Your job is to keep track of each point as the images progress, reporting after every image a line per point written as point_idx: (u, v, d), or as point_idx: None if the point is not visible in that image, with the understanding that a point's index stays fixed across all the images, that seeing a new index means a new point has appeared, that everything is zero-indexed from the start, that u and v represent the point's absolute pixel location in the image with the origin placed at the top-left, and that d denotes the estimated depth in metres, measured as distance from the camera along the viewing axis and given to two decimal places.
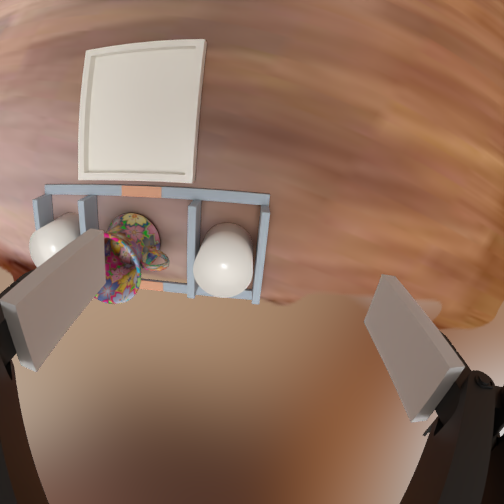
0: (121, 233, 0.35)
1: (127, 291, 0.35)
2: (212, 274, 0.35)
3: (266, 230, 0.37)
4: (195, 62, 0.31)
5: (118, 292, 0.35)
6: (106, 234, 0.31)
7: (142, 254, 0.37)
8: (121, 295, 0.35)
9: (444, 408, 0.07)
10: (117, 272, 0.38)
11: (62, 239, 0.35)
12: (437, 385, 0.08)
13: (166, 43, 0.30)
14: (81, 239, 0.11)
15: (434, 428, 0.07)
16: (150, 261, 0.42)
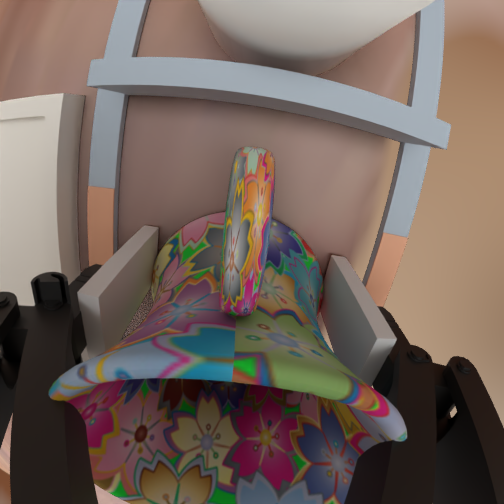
0: None
1: (362, 416, 0.06)
2: None
3: None
4: None
5: (358, 437, 0.07)
6: None
7: None
8: (371, 440, 0.06)
9: (379, 386, 0.09)
10: None
11: None
12: (367, 357, 0.09)
13: None
14: (140, 235, 0.13)
15: None
16: (303, 256, 0.13)
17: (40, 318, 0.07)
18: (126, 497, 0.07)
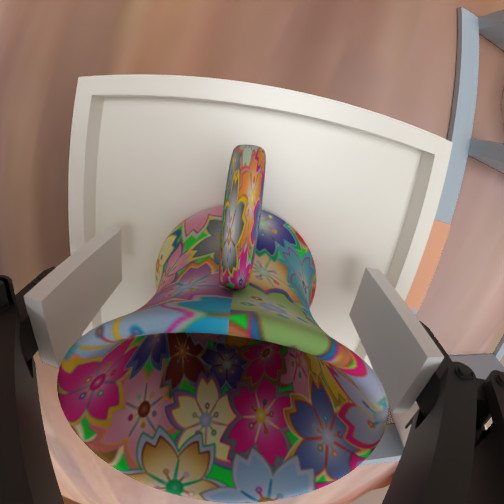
0: None
1: (347, 384, 0.07)
2: None
3: None
4: (134, 90, 0.11)
5: (345, 409, 0.08)
6: (60, 397, 0.06)
7: None
8: (356, 409, 0.07)
9: (424, 400, 0.08)
10: (292, 365, 0.12)
11: None
12: (416, 375, 0.08)
13: (75, 171, 0.13)
14: (100, 237, 0.12)
15: (415, 421, 0.08)
16: (296, 246, 0.14)
17: None
18: (128, 471, 0.08)
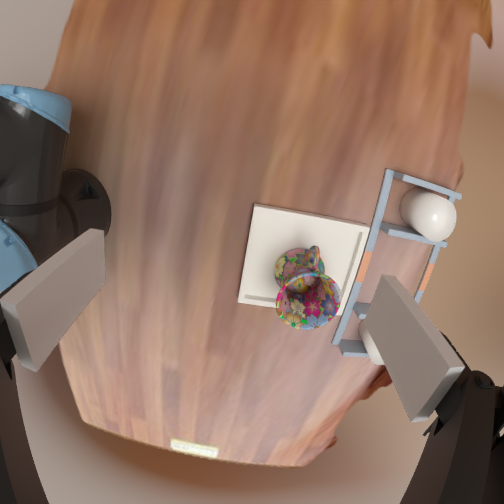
0: (284, 281, 0.44)
1: (332, 288, 0.41)
2: (439, 227, 0.40)
3: (415, 179, 0.41)
4: (275, 214, 0.46)
5: (333, 296, 0.42)
6: (278, 294, 0.41)
7: (307, 267, 0.44)
8: (335, 294, 0.41)
9: (444, 408, 0.07)
10: (319, 292, 0.46)
11: None
12: (437, 385, 0.08)
13: (252, 236, 0.47)
14: (81, 239, 0.11)
15: (434, 428, 0.07)
16: (319, 260, 0.48)
17: None
18: (283, 318, 0.42)
